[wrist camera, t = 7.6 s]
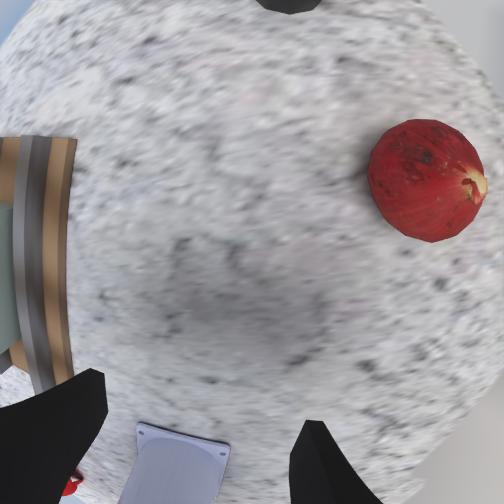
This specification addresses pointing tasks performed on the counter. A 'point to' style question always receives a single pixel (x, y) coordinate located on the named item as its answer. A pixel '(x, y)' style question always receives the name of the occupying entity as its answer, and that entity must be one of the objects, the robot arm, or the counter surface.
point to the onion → (426, 179)
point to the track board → (39, 254)
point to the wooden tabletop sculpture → (289, 5)
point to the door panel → (7, 281)
